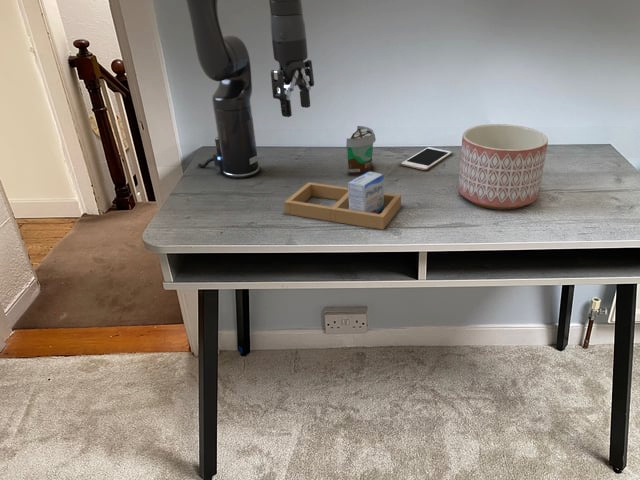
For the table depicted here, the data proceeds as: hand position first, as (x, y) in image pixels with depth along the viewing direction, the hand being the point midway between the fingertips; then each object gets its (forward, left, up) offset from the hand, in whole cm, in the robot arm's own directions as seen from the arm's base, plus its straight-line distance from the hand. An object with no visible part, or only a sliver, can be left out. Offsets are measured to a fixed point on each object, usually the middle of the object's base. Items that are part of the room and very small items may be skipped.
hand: (296, 111), depth 130 cm
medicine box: (+21, -11, -19) cm, 30 cm away
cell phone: (+25, +28, -18) cm, 42 cm away
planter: (+48, +9, -19) cm, 52 cm away
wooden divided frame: (+16, -11, -18) cm, 26 cm away
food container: (+11, +15, -19) cm, 26 cm away
